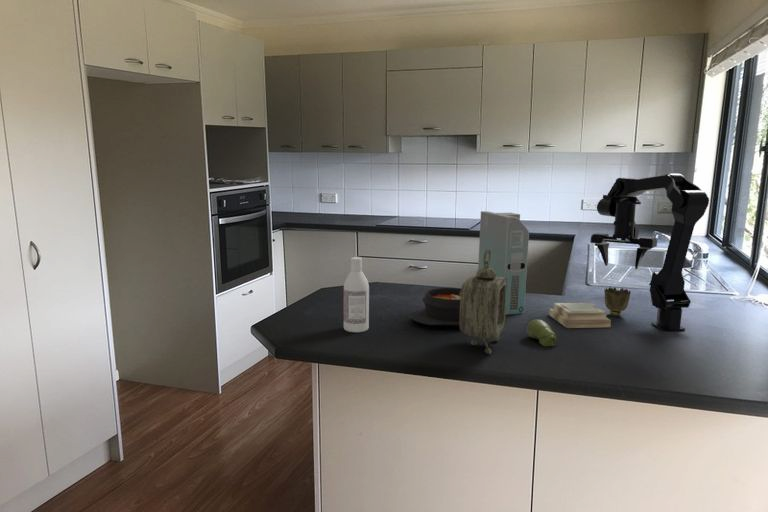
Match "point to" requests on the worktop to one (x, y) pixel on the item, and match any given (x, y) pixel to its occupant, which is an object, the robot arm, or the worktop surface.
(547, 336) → the pear
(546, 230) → the worktop surface
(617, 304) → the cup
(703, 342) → the worktop surface
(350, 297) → the bath foam
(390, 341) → the worktop surface
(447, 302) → the casserole
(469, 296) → the tabletop clock
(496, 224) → the light blue cardboard box
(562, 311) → the oak plinth
